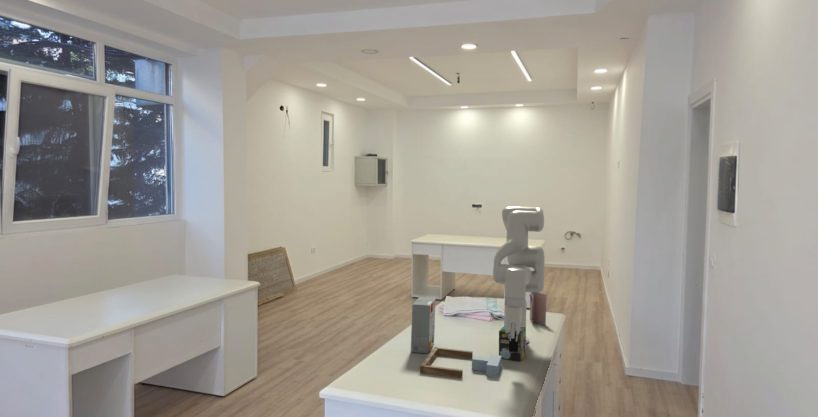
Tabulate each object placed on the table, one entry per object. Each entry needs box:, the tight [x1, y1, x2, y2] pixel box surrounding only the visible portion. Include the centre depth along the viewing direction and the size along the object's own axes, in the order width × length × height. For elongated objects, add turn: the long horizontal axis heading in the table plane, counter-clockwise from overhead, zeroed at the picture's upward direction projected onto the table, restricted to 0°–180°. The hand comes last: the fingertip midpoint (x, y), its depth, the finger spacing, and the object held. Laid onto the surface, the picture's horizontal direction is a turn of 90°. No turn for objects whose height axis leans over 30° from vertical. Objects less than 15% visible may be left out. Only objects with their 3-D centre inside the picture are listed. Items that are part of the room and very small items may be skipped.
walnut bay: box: [419, 346, 474, 379], centre depth 203 cm, size 23×16×2 cm
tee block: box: [471, 353, 502, 378], centre depth 199 cm, size 12×10×4 cm
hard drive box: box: [410, 296, 436, 354], centre depth 223 cm, size 16×8×20 cm, turn 168°
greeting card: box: [528, 292, 547, 326], centre depth 265 cm, size 11×7×15 cm, turn 174°
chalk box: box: [498, 325, 527, 362], centre depth 213 cm, size 9×9×15 cm
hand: (513, 351), depth 195 cm, fingers closed
